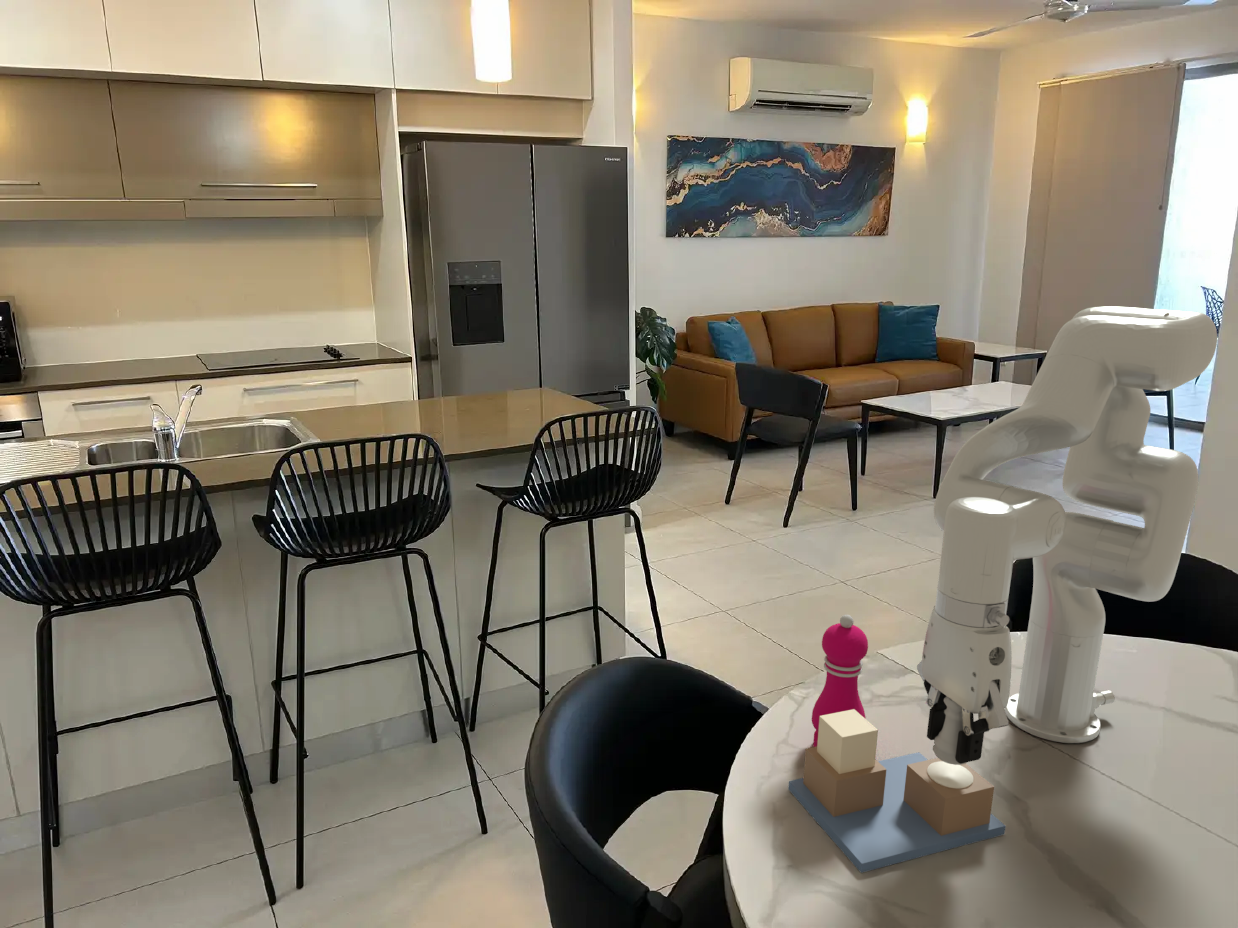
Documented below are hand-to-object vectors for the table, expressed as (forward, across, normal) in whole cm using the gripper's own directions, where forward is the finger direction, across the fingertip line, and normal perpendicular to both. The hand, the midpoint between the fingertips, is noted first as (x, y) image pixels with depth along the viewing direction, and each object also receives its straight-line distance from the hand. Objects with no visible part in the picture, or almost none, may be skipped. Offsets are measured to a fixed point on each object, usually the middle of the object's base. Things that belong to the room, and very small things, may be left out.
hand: (953, 746), depth 105 cm
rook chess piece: (+1, 0, 0) cm, 1 cm away
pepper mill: (+10, +18, +4) cm, 21 cm away
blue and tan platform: (+10, +4, +5) cm, 12 cm away
